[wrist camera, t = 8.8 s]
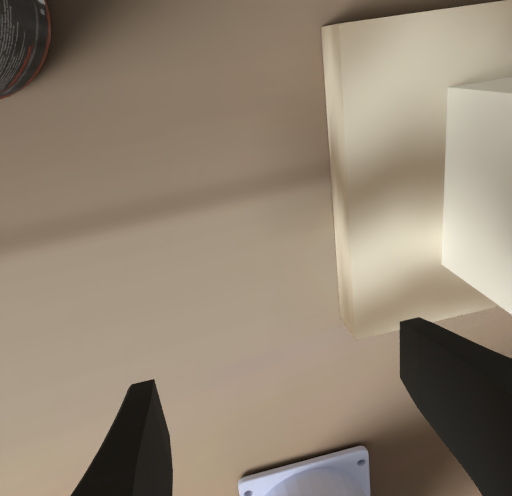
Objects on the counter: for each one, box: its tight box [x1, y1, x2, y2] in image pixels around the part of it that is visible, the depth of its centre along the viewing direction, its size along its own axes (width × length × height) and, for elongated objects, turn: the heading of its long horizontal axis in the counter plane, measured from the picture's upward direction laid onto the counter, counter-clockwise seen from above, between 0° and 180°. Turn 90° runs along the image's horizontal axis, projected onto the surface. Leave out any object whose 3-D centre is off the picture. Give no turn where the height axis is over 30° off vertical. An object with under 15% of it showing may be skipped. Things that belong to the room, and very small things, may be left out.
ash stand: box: [321, 0, 512, 340], centre depth 22 cm, size 14×14×2 cm
